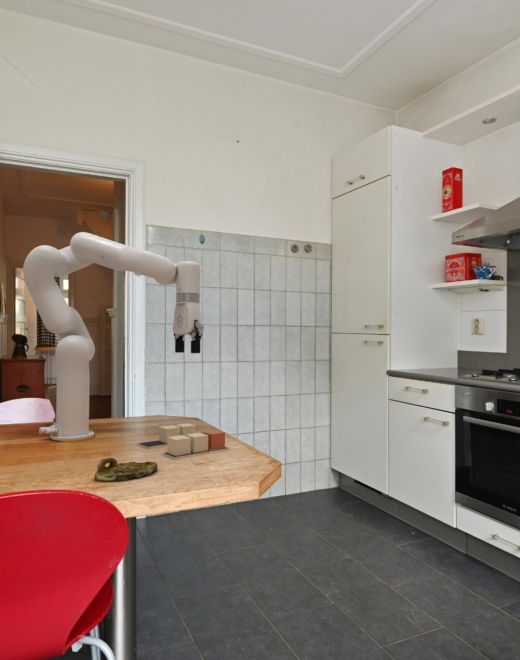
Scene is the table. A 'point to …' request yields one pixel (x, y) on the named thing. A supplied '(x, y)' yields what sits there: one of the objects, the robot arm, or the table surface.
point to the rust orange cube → (215, 439)
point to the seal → (123, 470)
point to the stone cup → (53, 398)
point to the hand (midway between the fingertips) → (187, 352)
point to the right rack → (188, 445)
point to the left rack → (171, 433)
